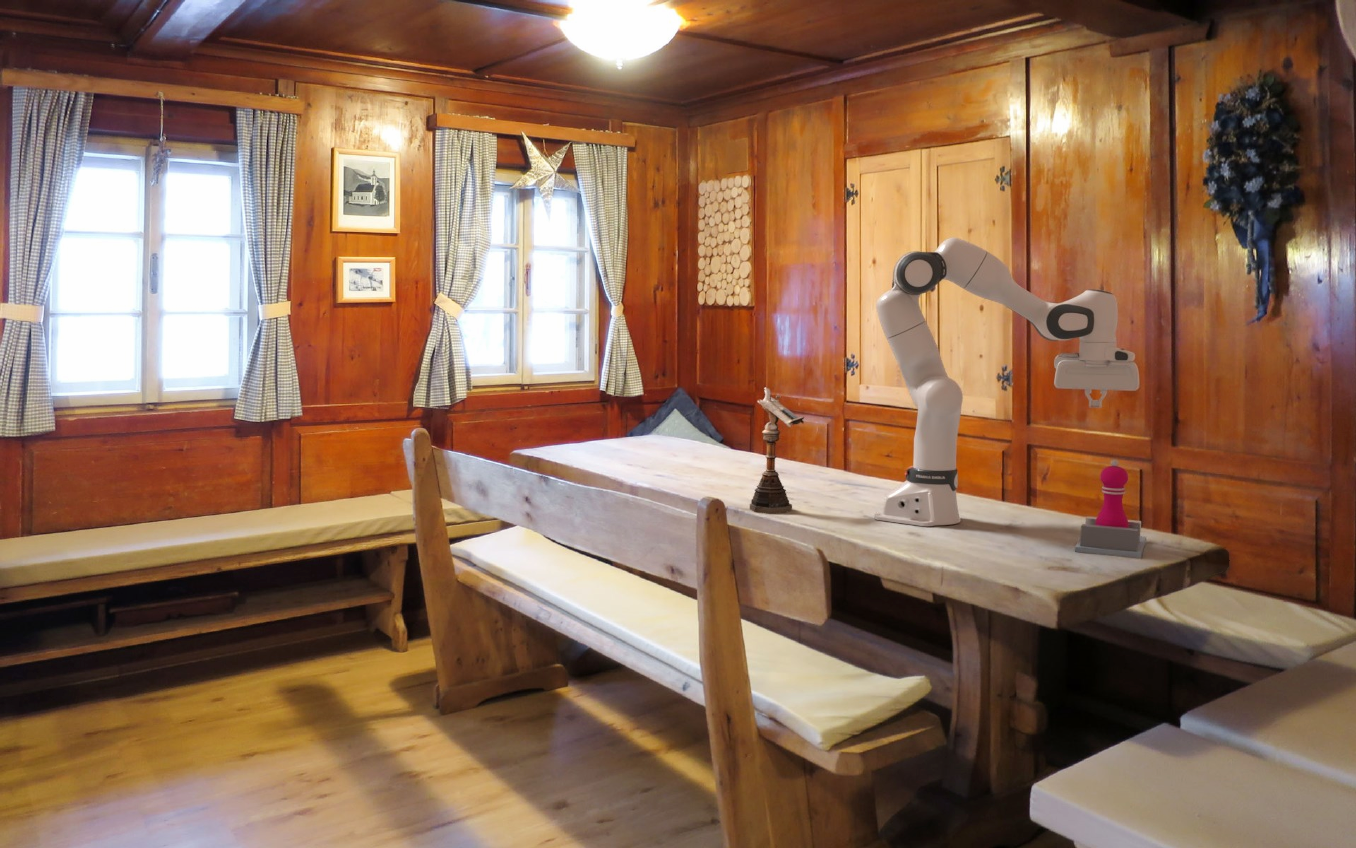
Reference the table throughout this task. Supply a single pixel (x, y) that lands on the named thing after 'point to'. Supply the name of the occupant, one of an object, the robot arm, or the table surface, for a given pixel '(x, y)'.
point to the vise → (1110, 541)
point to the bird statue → (772, 460)
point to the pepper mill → (1113, 496)
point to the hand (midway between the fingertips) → (1095, 407)
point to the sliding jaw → (1131, 524)
